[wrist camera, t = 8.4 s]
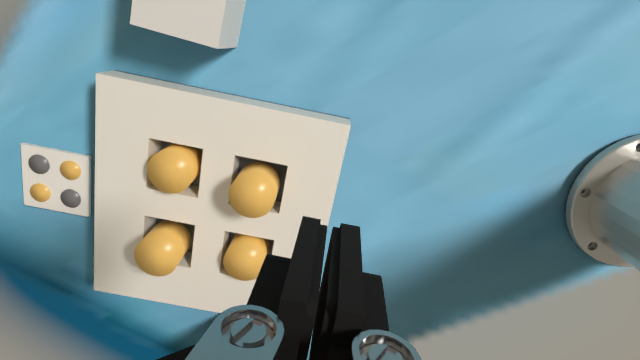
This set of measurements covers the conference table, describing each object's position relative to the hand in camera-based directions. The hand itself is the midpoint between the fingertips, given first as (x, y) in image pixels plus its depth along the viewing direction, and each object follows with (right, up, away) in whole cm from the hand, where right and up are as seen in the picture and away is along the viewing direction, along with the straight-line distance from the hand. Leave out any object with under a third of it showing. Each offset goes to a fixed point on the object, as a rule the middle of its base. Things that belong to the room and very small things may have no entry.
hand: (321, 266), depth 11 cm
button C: (-12, +4, +23) cm, 27 cm away
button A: (-5, +2, +22) cm, 23 cm away
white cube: (-9, +17, +20) cm, 28 cm away
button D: (-13, -3, +24) cm, 28 cm away
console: (-9, +1, +25) cm, 27 cm away
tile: (-24, +3, +25) cm, 35 cm away
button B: (-7, -4, +26) cm, 27 cm away
